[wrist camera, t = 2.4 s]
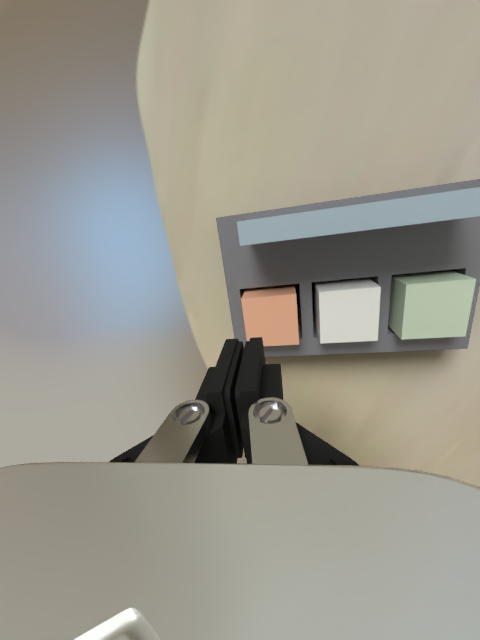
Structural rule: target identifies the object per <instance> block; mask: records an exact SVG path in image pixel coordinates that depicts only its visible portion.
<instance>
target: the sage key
mask: <svg viewBox="0 0 480 640" xmlns="http://www.w3.org/2000/svg"><path fill="white" fill-rule="evenodd" d="M475 283H476V279H475V278H472V277H469V276H466V275H463V274H460V273H457V272H454V271H451V270H440V271H430V272H419V273H408V274H397V275H392V277H391V291H390V305H389V319H388V326H389V327H390V328H391V329H392V330H393V331H394V332H395V333H396V334H397V335H398V337H399V338H400V339H401V340H403V339H423V338H443V337H464V336H466V331H467V326H468V321H469V315H470V310H471V305H472V299H473V294H474V289H475Z"/></svg>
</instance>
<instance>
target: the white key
mask: <svg viewBox="0 0 480 640" xmlns="http://www.w3.org/2000/svg"><path fill="white" fill-rule="evenodd" d="M380 294H381V287H380V286H379V285H378V284H376V283H375V282H373V281H372V280H371V279H369V278H368V277H365V278H354V279H343V280H332V281H321V282H314V300H315V327H316V330H317V334H318V337H319V341H320V344H321V343H342V342H362V341H378V328H379V311H380Z"/></svg>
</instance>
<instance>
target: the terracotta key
mask: <svg viewBox="0 0 480 640" xmlns="http://www.w3.org/2000/svg"><path fill="white" fill-rule="evenodd" d="M241 303H242V310H243V317H244V324H245V332H246V339H247V341H250V338H255V337H262V339H263V346H281V345H299V332H298V315H297V299H296V290H295V284H289V285H278V286H267V287H256V288H246V290H245V292H244V294H243V296H242V298H241Z"/></svg>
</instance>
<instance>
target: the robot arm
mask: <svg viewBox="0 0 480 640" xmlns="http://www.w3.org/2000/svg"><path fill="white" fill-rule="evenodd" d="M243 447H244V452H245V457H246V459H247V464H237V458H241V457H242V455H243ZM0 640H480V487H479V486H476V485H473V484H470V483H467V482H464V481H460V480H457V479H454V478H451V477H447V476H443V475H438V474H433V473H428V472H424V471H418V470H410V469H401V468H390V467H370V466H359V465H358V464H357V463H356V462H355V461H353V460H352V459H351V458H349V457H348V456H346V455H345V454H343V453H342V452H340V451H339V450H337V449H336V448H334V447H332V446H331V445H329V444H328V443H326V442H325V441H323V440H322V439H320V438H319V437H317V436H316V435H314V434H313V433H311V432H310V431H308V430H307V429H305V428H304V427H302V426H301V425H299V424H298V423H296V422H295V419H294V416H293V413H292V409H291V407H290V405H289V404H288V403H287V402H285V401H284V400H283V388H282V376H281V366H280V364H265V355H264V347H263V339H262V337H255V338H250V341H246V343H245V347H244V345H243V341H241V342H239V340H238V339H226V341H225V343H224V346H223V349H222V351H221V354H220V356H219V359H218V362H217V364H216V367H210V368H209V369H208V371H207V373H206V376H205V378H204V380H203V383H202V385H201V387H200V390H199V392H198V394H197V397H196V399H195V400H189V401H185V402H183V403H181V404H179V405H178V406H176V407H175V408H174V409H173V410H172V411H171V412H170V414H169V415H168V416H167V418H166V419H165V420H164V422H163V423H162V425H161V426H160V427H159V429H158V430H157V432H156V433H155V435H153V436H151V437H150V438H148V439H146V440H145V441H143V442H142V443H139V444H138V445H136V446H134V447H133V448H131V449H129V450H128V451H126V452H124V453H122V454H121V455H119V456H117V457H115V458H114V459H113V460H111V461H110V462H52V463H51V462H50V463H29V464H19V465H11V466H6V467H1V468H0Z"/></svg>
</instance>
